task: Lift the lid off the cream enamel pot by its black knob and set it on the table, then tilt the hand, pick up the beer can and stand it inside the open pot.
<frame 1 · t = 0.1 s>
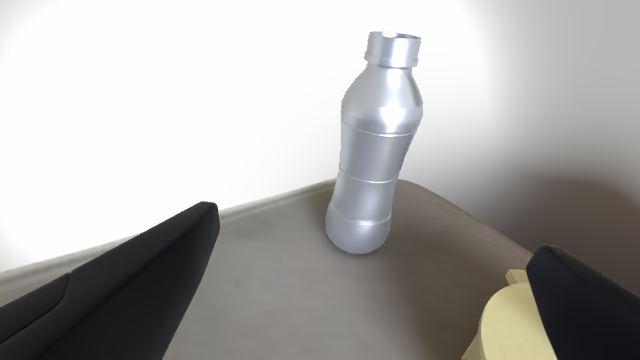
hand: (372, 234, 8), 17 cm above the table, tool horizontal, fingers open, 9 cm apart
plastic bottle: (353, 241, 32), on the table
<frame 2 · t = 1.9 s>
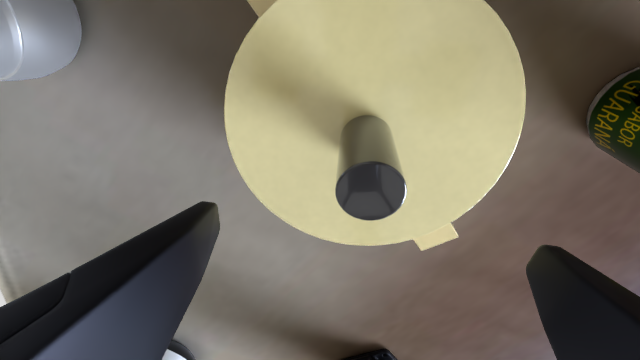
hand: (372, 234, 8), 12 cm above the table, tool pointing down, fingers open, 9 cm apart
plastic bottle: (48, 11, 18), on the table
pot lid: (365, 135, 14), point 5 cm above the table, touching pot
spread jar: (173, 359, 39), on the table
beer can: (630, 105, 18), on the table
pot: (362, 100, 19), on the table
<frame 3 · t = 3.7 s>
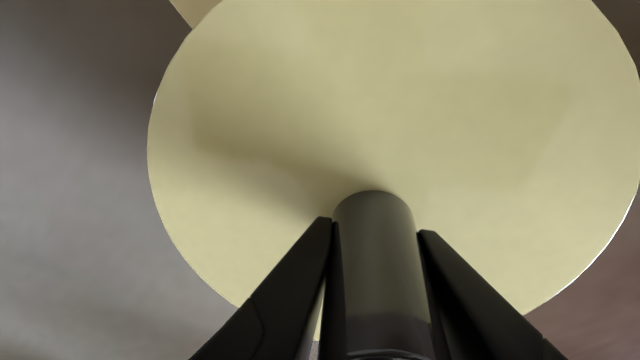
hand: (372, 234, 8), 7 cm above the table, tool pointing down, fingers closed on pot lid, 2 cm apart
pot lid: (370, 212, 9), point 5 cm above the table, touching gripper, pot
pot: (365, 139, 14), on the table
when the fingers open (2 cm above the table, at t = 8.7 s): pot lid stays where it is, point 1 cm above the table.
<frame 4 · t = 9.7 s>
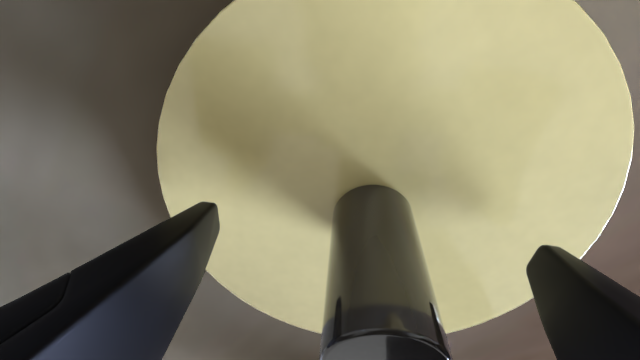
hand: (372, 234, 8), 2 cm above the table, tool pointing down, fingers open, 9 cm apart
pot lid: (370, 206, 10), point 1 cm above the table
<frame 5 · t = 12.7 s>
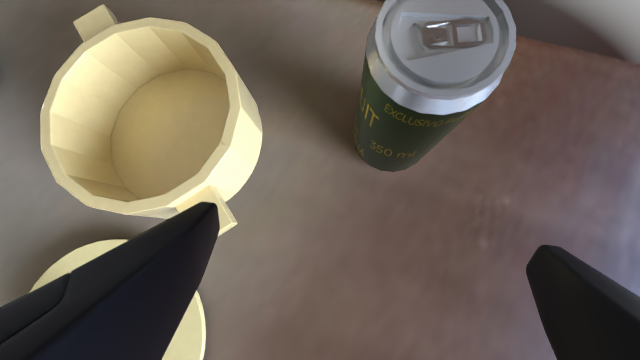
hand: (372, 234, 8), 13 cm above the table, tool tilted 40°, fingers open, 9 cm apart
pot lid: (110, 338, 20), point 1 cm above the table
beer can: (388, 139, 23), on the table
pot: (184, 138, 23), on the table
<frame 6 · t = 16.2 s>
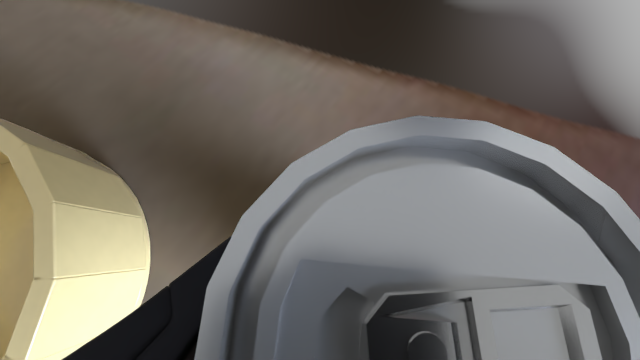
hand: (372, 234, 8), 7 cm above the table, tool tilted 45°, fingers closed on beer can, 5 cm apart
beer can: (347, 269, 15), on the table, touching gripper
pot: (23, 270, 15), on the table
when the fingers open (7 cm above the table, at t = 22.6 s): beer can stays where it is, resting on pot.
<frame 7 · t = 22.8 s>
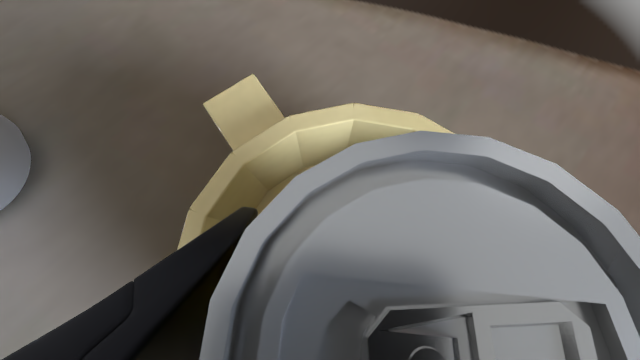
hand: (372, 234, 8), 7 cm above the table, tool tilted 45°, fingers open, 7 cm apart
beer can: (347, 272, 15), resting on pot
pot: (347, 269, 15), on the table
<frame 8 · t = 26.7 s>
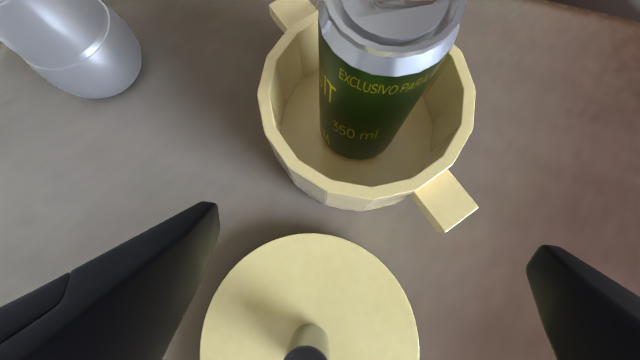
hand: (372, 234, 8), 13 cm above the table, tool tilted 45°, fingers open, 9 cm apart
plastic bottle: (114, 72, 24), on the table
pot lid: (309, 341, 19), point 1 cm above the table
beer can: (356, 129, 22), resting on pot
pot: (355, 128, 23), on the table
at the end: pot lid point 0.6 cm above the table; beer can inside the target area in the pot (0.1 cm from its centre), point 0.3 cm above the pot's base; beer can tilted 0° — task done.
